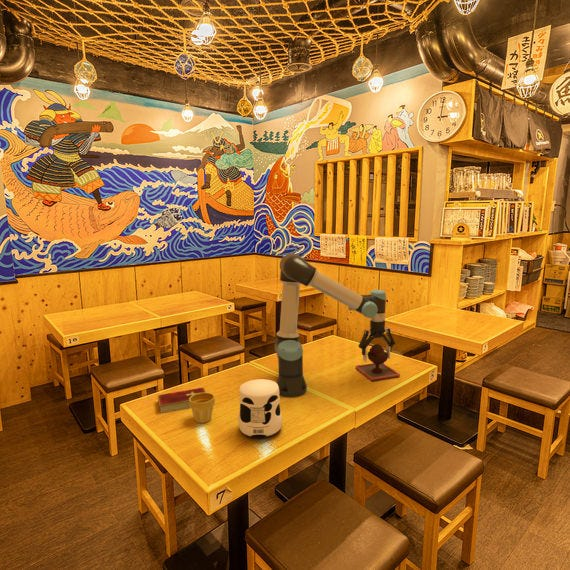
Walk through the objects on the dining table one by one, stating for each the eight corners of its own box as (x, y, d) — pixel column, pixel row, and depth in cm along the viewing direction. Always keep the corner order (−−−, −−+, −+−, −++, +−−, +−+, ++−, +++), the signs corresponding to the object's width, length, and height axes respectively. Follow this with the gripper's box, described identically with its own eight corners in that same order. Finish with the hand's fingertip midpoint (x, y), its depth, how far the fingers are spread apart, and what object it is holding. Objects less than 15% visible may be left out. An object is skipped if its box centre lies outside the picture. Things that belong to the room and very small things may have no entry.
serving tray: (371, 381, 198) (371, 378, 198) (355, 368, 215) (355, 365, 215) (399, 377, 203) (399, 374, 202) (381, 365, 220) (381, 362, 219)
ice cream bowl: (390, 375, 203) (391, 347, 201) (368, 375, 204) (369, 347, 201) (385, 367, 214) (386, 340, 211) (364, 367, 214) (365, 340, 211)
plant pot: (204, 410, 173) (203, 389, 171) (220, 417, 166) (219, 396, 165) (185, 420, 165) (183, 398, 163) (201, 428, 158) (199, 405, 157)
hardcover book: (158, 402, 182) (157, 394, 182) (204, 394, 190) (203, 386, 189) (159, 414, 171) (159, 405, 171) (208, 405, 179) (207, 396, 178)
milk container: (266, 414, 168) (265, 374, 165) (291, 431, 154) (290, 388, 151) (230, 428, 158) (228, 385, 155) (253, 447, 144) (251, 401, 141)
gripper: (359, 324, 197) (358, 364, 201) (402, 319, 204) (401, 359, 207) (352, 320, 204) (351, 359, 208) (395, 316, 211) (393, 354, 215)
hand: (376, 359), depth 208 cm, fingers open, 13 cm apart
